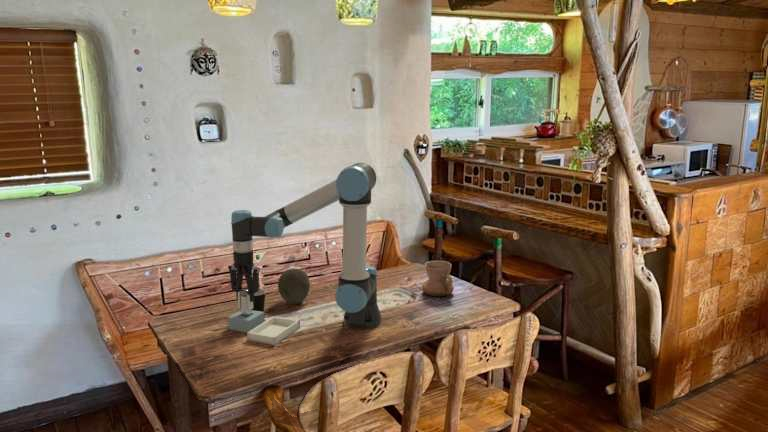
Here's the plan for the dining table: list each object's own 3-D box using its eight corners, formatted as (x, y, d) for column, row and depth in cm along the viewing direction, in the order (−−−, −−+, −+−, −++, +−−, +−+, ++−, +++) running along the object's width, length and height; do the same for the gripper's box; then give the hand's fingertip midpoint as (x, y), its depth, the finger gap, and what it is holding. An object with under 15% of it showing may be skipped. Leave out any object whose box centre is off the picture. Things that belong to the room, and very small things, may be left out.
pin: (253, 325, 234) (251, 289, 231) (248, 328, 231) (246, 292, 228) (245, 324, 235) (244, 288, 232) (240, 327, 232) (238, 291, 229)
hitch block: (264, 323, 236) (264, 312, 235) (250, 333, 227) (249, 320, 226) (243, 320, 240) (243, 308, 239) (228, 329, 231) (227, 317, 230)
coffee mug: (261, 319, 240) (260, 296, 238) (241, 318, 242) (240, 295, 240) (272, 309, 251) (271, 287, 249) (253, 308, 253) (252, 286, 251)
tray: (300, 327, 232) (299, 320, 231) (274, 345, 216) (274, 337, 215) (274, 323, 236) (273, 316, 236) (247, 340, 220) (246, 332, 220)
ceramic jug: (414, 291, 275) (414, 261, 272) (439, 285, 282) (440, 257, 279) (436, 303, 260) (437, 272, 257) (463, 297, 267) (463, 267, 264)
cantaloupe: (316, 303, 258) (315, 270, 255) (286, 310, 250) (285, 276, 247) (301, 294, 270) (300, 263, 267) (273, 301, 262) (271, 268, 259)
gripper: (219, 250, 227) (222, 308, 231) (255, 255, 220) (258, 314, 225) (231, 246, 233) (234, 302, 238) (267, 250, 227) (269, 308, 232)
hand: (245, 308), depth 232 cm, fingers closed on pin, 4 cm apart
